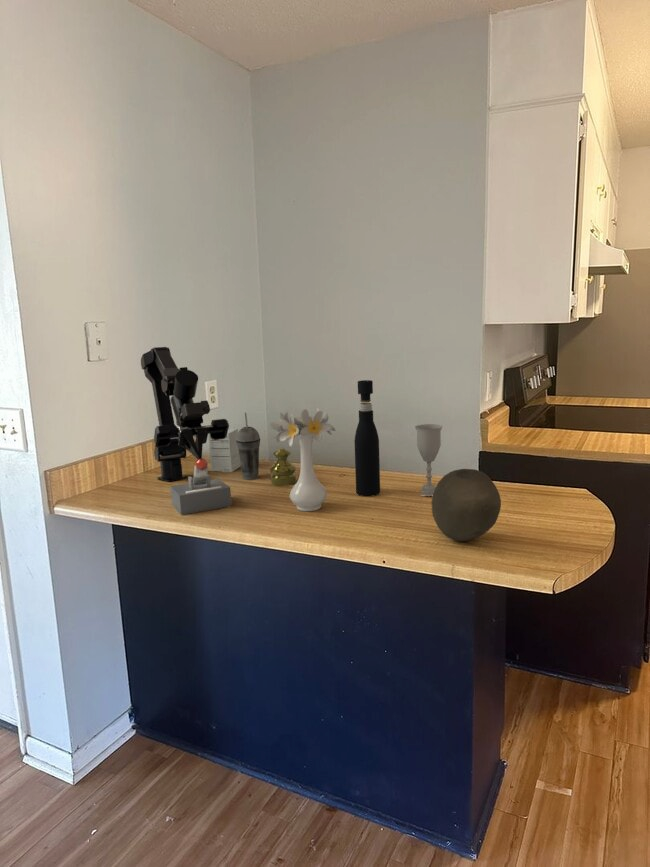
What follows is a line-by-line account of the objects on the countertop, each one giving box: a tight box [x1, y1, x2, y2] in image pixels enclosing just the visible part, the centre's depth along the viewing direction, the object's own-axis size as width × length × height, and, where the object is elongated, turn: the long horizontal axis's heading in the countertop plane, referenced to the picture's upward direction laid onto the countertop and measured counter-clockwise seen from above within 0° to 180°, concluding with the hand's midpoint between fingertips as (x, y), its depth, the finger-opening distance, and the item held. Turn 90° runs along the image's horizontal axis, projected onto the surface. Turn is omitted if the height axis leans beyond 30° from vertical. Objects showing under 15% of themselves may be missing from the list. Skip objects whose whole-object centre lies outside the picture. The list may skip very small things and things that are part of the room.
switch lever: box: [192, 457, 209, 486], centre depth 159 cm, size 3×3×8 cm
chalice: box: [414, 423, 443, 496], centre depth 163 cm, size 7×7×18 cm
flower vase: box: [269, 407, 336, 512], centre depth 155 cm, size 13×18×25 cm
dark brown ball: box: [431, 468, 502, 542], centre depth 130 cm, size 14×14×15 cm
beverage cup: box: [236, 412, 261, 481], centre depth 186 cm, size 7×7×20 cm
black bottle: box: [354, 379, 381, 497], centre depth 165 cm, size 6×6×30 cm
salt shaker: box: [269, 447, 297, 486], centre depth 181 cm, size 7×7×10 cm
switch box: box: [169, 473, 232, 516], centre depth 162 cm, size 10×13×8 cm
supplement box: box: [208, 427, 241, 473], centre depth 199 cm, size 7×7×13 cm
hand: (200, 458), depth 158 cm, fingers closed, pressing on switch lever
